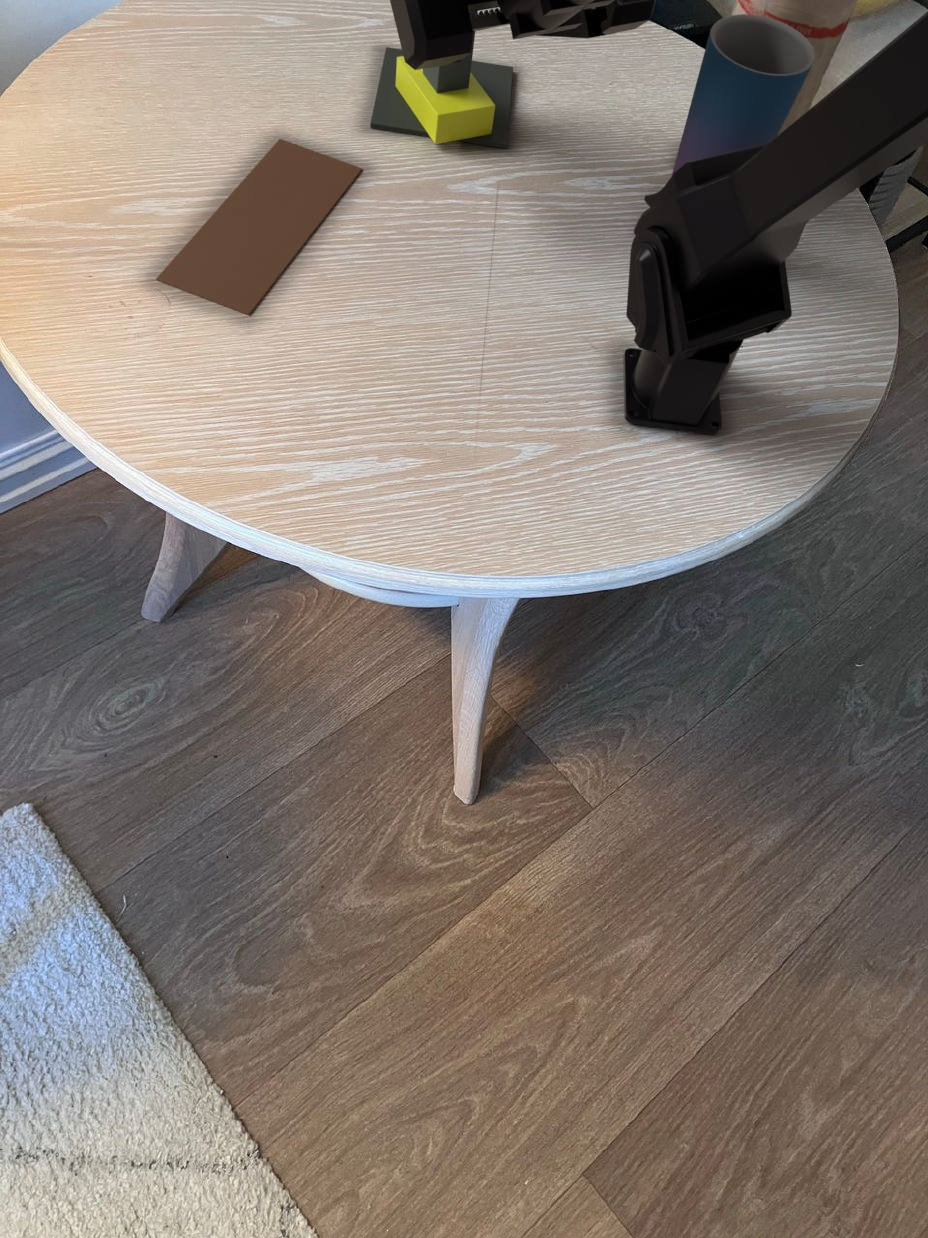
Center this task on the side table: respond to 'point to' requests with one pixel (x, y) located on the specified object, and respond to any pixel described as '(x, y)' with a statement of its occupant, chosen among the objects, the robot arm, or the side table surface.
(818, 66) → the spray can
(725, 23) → the cup
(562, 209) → the side table surface
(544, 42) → the side table surface
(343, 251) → the side table surface
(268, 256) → the brown rectangular board
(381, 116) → the mat
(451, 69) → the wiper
